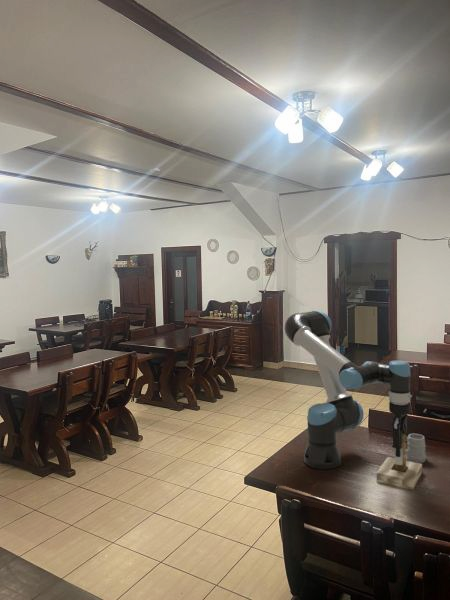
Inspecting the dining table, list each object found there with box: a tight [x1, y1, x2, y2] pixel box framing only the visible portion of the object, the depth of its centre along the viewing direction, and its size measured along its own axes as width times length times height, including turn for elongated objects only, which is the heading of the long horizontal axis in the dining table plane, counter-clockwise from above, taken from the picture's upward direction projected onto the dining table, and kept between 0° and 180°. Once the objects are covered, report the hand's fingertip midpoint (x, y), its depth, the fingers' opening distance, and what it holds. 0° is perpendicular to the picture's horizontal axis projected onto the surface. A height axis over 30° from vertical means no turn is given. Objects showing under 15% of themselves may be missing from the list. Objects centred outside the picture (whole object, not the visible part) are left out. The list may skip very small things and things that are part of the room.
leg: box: [394, 433, 407, 472], centre depth 173 cm, size 4×4×14 cm
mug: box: [406, 433, 427, 464], centre depth 188 cm, size 8×12×12 cm, turn 95°
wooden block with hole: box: [376, 456, 423, 491], centre depth 174 cm, size 13×16×4 cm
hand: (400, 461), depth 173 cm, fingers closed on leg, 4 cm apart
